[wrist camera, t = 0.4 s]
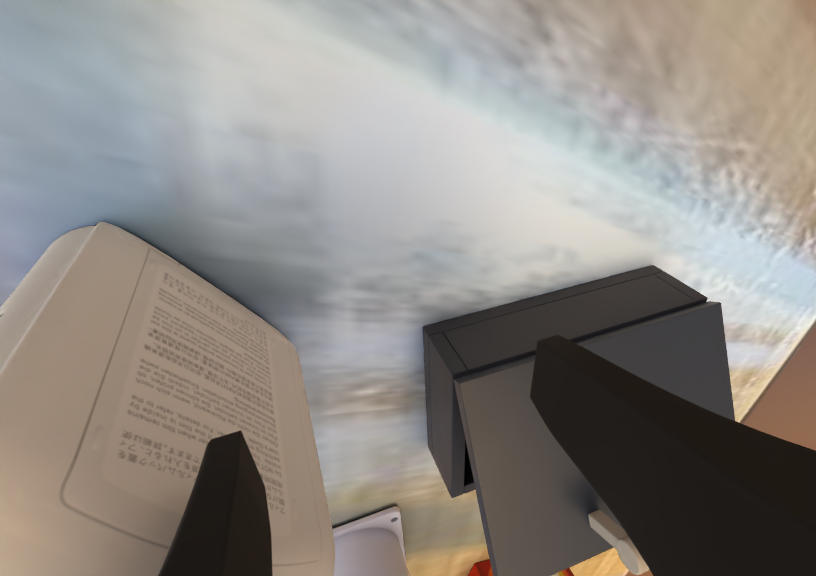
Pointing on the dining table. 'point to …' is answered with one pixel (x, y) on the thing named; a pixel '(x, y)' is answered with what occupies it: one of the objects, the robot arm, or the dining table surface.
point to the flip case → (529, 345)
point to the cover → (551, 466)
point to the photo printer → (141, 412)
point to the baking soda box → (483, 572)
